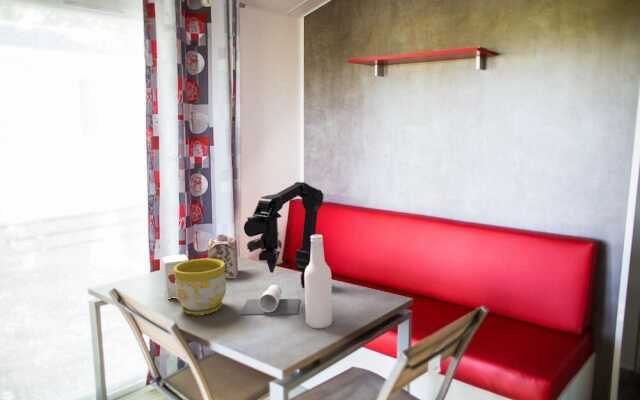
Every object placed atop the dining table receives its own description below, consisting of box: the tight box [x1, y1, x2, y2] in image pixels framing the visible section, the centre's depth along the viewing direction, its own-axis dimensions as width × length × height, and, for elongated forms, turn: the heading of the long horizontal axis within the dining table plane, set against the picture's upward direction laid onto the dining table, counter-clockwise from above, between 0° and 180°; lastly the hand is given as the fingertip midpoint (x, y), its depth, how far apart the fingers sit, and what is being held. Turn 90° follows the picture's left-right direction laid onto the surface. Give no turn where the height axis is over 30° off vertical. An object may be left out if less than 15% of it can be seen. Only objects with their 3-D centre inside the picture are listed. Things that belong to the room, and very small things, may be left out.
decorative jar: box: [207, 233, 239, 279], centre depth 216 cm, size 12×12×18 cm
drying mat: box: [239, 298, 301, 316], centre depth 179 cm, size 20×14×1 cm
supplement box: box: [161, 253, 189, 299], centre depth 193 cm, size 9×9×15 cm
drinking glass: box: [258, 284, 282, 312], centre depth 179 cm, size 7×7×15 cm
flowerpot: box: [173, 258, 227, 316], centre depth 177 cm, size 18×18×16 cm
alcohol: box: [304, 234, 333, 330], centre depth 161 cm, size 9×9×30 cm
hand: (271, 272), depth 182 cm, fingers closed
